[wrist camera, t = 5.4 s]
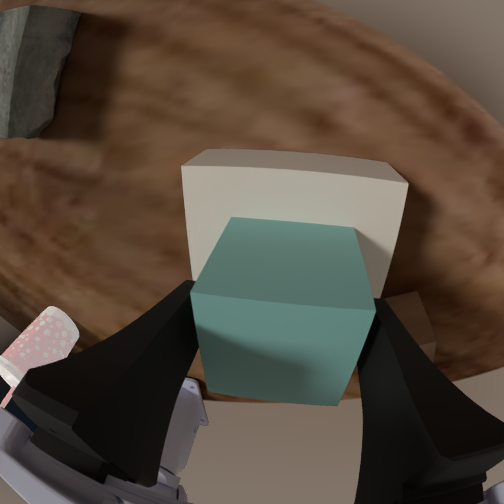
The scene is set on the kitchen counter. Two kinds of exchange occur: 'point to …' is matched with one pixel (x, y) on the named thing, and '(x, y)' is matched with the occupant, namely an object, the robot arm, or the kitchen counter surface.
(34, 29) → the stone block
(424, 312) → the walnut cube
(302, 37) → the kitchen counter surface
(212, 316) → the teal cube
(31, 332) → the beverage cup
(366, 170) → the ceramic base
